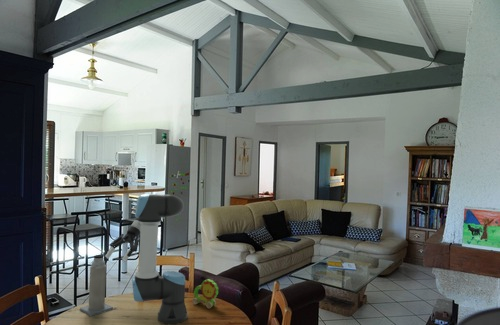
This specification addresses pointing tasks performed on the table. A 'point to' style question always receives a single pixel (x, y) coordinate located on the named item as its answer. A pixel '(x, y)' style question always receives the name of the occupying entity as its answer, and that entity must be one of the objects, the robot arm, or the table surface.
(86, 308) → the gray square plate
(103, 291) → the thermos bottle
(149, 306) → the table surface
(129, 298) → the table surface
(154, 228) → the robot arm
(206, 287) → the toy lion
